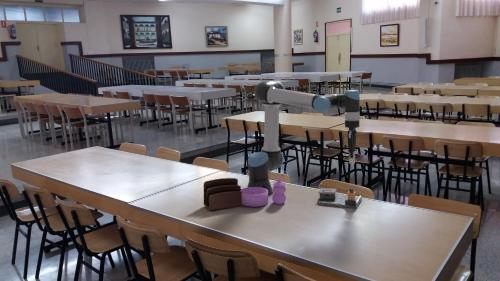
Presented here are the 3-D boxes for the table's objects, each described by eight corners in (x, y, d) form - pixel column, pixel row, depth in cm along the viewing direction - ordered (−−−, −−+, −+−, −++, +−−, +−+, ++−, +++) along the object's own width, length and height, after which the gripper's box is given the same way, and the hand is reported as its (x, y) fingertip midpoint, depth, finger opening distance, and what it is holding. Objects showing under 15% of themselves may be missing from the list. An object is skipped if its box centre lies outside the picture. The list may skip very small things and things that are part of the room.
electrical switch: (317, 192, 220) (319, 185, 229) (318, 201, 222) (320, 193, 230) (335, 192, 218) (336, 185, 226) (335, 201, 219) (336, 194, 228)
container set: (238, 206, 215) (238, 182, 213) (241, 197, 231) (241, 175, 228) (286, 207, 214) (286, 183, 212) (285, 198, 229) (285, 175, 227)
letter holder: (203, 205, 221) (203, 179, 218) (237, 200, 228) (237, 176, 226) (209, 210, 212) (208, 184, 209) (244, 206, 219) (244, 180, 217)
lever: (347, 203, 210) (347, 189, 209) (348, 202, 213) (348, 187, 212) (354, 204, 209) (354, 190, 208) (355, 202, 212) (355, 188, 210)
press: (318, 204, 216) (318, 197, 216) (325, 196, 230) (325, 189, 229) (356, 208, 208) (356, 201, 207) (361, 199, 221) (361, 192, 220)
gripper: (347, 118, 222) (347, 160, 226) (342, 121, 210) (342, 165, 214) (361, 118, 218) (361, 161, 223) (356, 121, 207) (356, 166, 211)
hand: (352, 163), depth 218 cm, fingers closed
